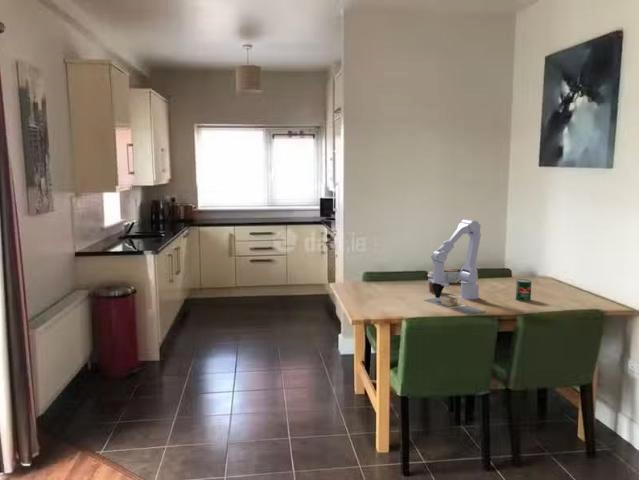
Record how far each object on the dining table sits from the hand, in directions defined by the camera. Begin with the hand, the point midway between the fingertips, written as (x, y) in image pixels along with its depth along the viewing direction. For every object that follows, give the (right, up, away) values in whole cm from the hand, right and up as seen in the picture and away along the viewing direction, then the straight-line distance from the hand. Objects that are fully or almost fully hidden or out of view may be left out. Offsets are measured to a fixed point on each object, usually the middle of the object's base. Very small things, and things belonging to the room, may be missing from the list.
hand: (437, 297), depth 293 cm
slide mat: (+6, -4, -10) cm, 12 cm away
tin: (+18, +4, +47) cm, 51 cm away
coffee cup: (+3, 0, +22) cm, 22 cm away
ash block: (+4, -3, -7) cm, 9 cm away
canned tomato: (+48, -2, +4) cm, 48 cm away
